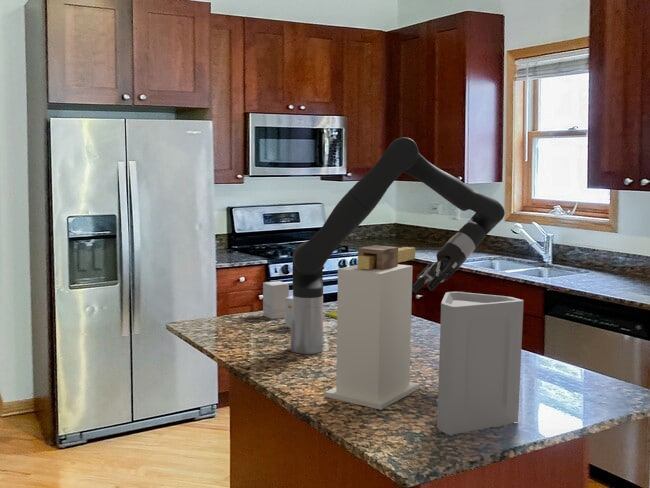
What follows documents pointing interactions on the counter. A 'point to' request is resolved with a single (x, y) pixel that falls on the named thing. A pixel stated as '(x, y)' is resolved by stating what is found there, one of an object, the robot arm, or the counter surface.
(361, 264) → the gold block
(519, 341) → the triangular grey vase
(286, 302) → the small box
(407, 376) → the mount
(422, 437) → the counter surface
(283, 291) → the supplement box
